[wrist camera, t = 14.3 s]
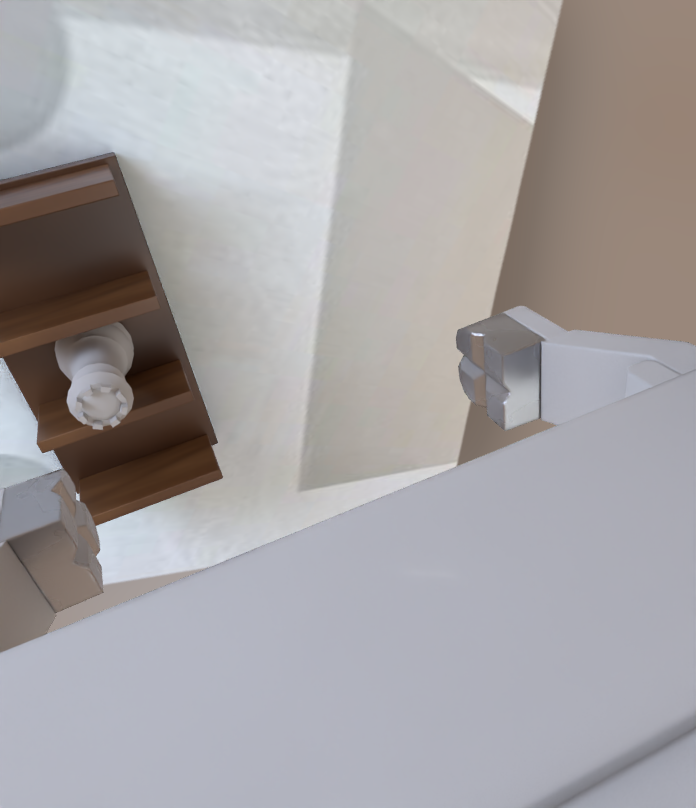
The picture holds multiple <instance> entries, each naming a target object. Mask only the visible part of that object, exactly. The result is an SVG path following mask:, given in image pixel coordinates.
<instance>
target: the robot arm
mask: <svg viewBox="0 0 696 808" xmlns="http://www.w3.org/2000/svg"><path fill="white" fill-rule="evenodd" d="M456 344H457V349H458V350H459V351H460V352H461V353H462V354H464V356H463V358H462V360H461V362H460V364H459V366H458V368H459V377H460V382H461V384H462V387H463V390H464V392H465V393H466V395H467V396H468V398H469V399H470V400H471V401H472V402H473V403H474V404H475V405H478V406H482V407H487V415H488V416H489V417H490V418H491V419H492V420H493V421H494V422H495V423H496V424H498V425H499V426H500V427H501V428H502V429H503V430H504V431H507V430H510V429H513V428H515V427H518V426H521V425H523V424H526V423H529V422H532V421H534V420H537V419H540V418H541V420H543V421H546V422H549V423H552V424H555V425H557V426H555V427H552V428H550V429H547V430H545V431H543V432H540V433H538V434H535V435H533V436H530V437H528V438H525V439H523V440H521V441H518V442H516V443H513V444H511V445H508V446H506V447H503V448H501V449H499V450H496V451H494V452H491V453H489V454H486V455H484V456H481V457H479V458H476V459H474V460H471V461H469V462H467V463H464V464H462V465H459V466H457V467H454V468H452V469H449V470H447V471H444V472H442V473H440V474H437V475H435V476H432V477H430V478H427V479H425V480H422V481H420V482H418V483H415V484H413V485H410V486H408V487H405V488H403V489H400V490H398V491H395V492H393V493H391V494H388V495H386V496H383V497H381V498H378V499H376V500H373V501H371V502H369V503H366V504H364V505H361V506H359V507H356V508H354V509H351V510H349V511H346V512H344V513H342V514H339V515H337V516H334V517H332V518H329V519H327V520H324V521H322V522H320V523H317V524H315V525H312V526H310V527H307V528H305V529H302V530H300V531H297V532H295V533H293V534H290V535H288V536H285V537H283V538H280V539H278V540H275V541H273V542H270V543H268V544H266V545H263V546H261V547H258V548H256V549H253V550H251V551H248V552H246V553H244V554H241V555H239V556H236V557H234V558H231V559H229V560H226V561H224V562H221V563H219V564H217V565H214V566H212V567H209V568H207V569H205V570H202V571H199V572H197V573H195V574H192V575H190V576H187V577H185V578H182V579H180V580H178V581H175V582H173V583H170V584H168V585H165V586H163V587H160V588H158V589H155V590H153V591H150V592H148V593H145V594H143V595H141V596H138V597H136V598H133V599H131V600H128V601H126V602H123V603H121V604H119V605H116V606H114V607H111V608H109V609H106V610H104V611H101V612H99V613H97V614H94V615H92V616H89V617H87V618H84V619H82V620H79V621H77V622H74V623H72V624H70V625H67V626H65V627H62V628H60V629H57V630H55V631H53V632H50V633H47V631H48V630H49V628H50V626H51V624H52V623H53V621H54V619H55V617H56V614H55V613H57V612H59V611H62V610H64V609H66V608H69V607H71V606H73V605H76V604H78V603H80V602H83V601H84V600H87V599H90V598H92V597H94V596H97V595H99V594H101V593H103V581H102V567H101V565H100V563H99V561H98V560H97V558H96V556H97V554H98V553H99V551H100V543H99V537H98V534H97V530H96V526H95V523H94V521H93V519H92V516H91V514H90V512H89V510H88V508H87V506H86V504H84V503H82V502H80V501H78V500H76V488H75V484H74V483H73V481H72V479H71V478H70V476H69V474H68V473H67V472H66V471H65V470H64V469H60V470H57V471H54V472H51V473H48V474H45V475H42V476H39V477H36V478H33V479H30V480H27V481H24V482H21V483H18V484H15V485H12V486H9V487H7V488H2V489H0V808H696V346H694V345H692V344H691V343H688V342H682V341H672V340H664V339H654V338H646V337H636V336H628V335H619V334H610V333H600V332H591V331H582V330H573V331H570V332H568V331H566V330H565V329H563V328H561V327H559V326H558V325H556V324H554V323H553V322H551V321H549V320H547V319H546V318H544V317H542V316H540V315H539V314H537V313H536V312H534V311H532V310H531V309H529V308H527V307H525V306H518V307H515V308H512V309H510V310H507V311H505V312H502V313H500V314H497V315H495V316H492V317H490V318H487V319H484V320H482V321H479V322H477V323H474V324H471V325H469V326H466V327H464V328H461V329H459V330H458V331H457V336H456Z"/></svg>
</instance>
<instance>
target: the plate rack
mask: <svg viewBox="0 0 696 808" xmlns="http://www.w3.org/2000/svg"><path fill="white" fill-rule="evenodd" d="M116 322H119V323H121V324H122V325H123V326H124V327H125V329H126V330H127V331H128V333H129V334H130V335H131V339H132V343H133V347H134V350H133V352H134V356H133V361H132V366H131V368H130V370H129V371H128V372H127V374H126V375H125V376H124V377H125V380H126V382H127V383H128V384H129V386H130V387H131V389H132V393H133V397H134V400H133V404H132V409H131V410H130V411H129V413H128V414H127V415H126V417H125V418H123V419H122V420H120V421H121V423H119V424H118V425H116V426H114V427H112V426H111V425H107V426H103V430H99V429H93V426H89V425H87V424H83V423H82V422H81V421H78V420H77V419H76V418H75V417H74V416H73V415H72V414H71V412H70V410H69V407H68V404H67V396H68V390H69V389H70V388H71V384H72V381H71V380H70V379H69V378H68V377H67V376H66V375H65V374H64V373H63V372H62V371H61V369H60V368H59V364H58V361H57V358H56V353H55V343H56V341H57V340H61V339H64V338H67V337H70V336H74V335H77V334H80V333H83V332H87V331H90V330H93V329H96V328H100V327H103V326H106V325H109V324H113V323H116ZM2 357H3V359H4V361H5V363H6V364H7V366H8V368H9V370H10V372H11V374H12V375H13V377H14V379H15V381H16V383H17V384H18V386H19V388H20V390H21V392H22V394H23V395H24V397H25V399H26V401H27V403H28V405H29V406H30V408H31V410H32V412H33V414H34V415H35V417H36V419H37V421H38V432H37V445H38V446H39V448H40V450H41V452H42V453H45V452H48V451H51V450H54V452H55V454H56V456H57V457H58V459H59V461H60V463H61V465H62V467H63V468H64V470H65V471H66V472H67V473H68V474H69V476H70V478H71V479H72V481H73V483H74V484H75V488H76V492H77V494H80V502H82V503H84V504H86V506H87V508H88V510H89V512H90V514H91V516H92V519H93V521H94V523H95V526H97V525H99V524H102V523H105V522H107V521H110V520H113V519H115V518H118V517H121V516H123V515H126V514H129V513H131V512H134V511H137V510H139V509H142V508H145V507H147V506H150V505H153V504H155V503H158V502H161V501H163V500H166V499H169V498H171V497H174V496H177V495H179V494H182V493H185V492H187V491H190V490H193V489H195V488H198V487H201V486H203V485H206V484H209V483H211V482H214V481H217V480H219V479H222V478H223V476H222V473H221V470H220V468H219V465H218V462H217V459H216V457H215V454H214V451H213V448H212V446H211V445H214V444H217V443H218V441H217V438H216V436H215V433H214V430H213V427H212V424H211V422H210V419H209V416H208V413H207V410H206V408H205V405H204V402H203V399H202V396H201V394H200V391H199V388H198V385H197V382H196V380H195V377H194V374H193V371H192V368H191V366H190V363H189V360H188V357H187V354H186V352H185V349H184V346H183V343H182V340H181V338H180V335H179V332H178V329H177V326H176V324H175V321H174V318H173V315H172V312H171V310H170V307H169V304H168V301H167V298H166V296H165V293H164V290H163V287H162V284H161V282H160V279H159V276H158V273H157V270H156V268H155V265H154V262H153V259H152V256H151V254H150V251H149V248H148V245H147V242H146V240H145V237H144V234H143V231H142V228H141V226H140V223H139V220H138V217H137V214H136V212H135V209H134V206H133V203H132V200H131V198H130V195H129V192H128V189H127V186H126V184H125V181H124V178H123V175H122V172H121V170H120V167H119V164H118V161H117V158H116V156H115V153H109V154H105V155H101V156H97V157H93V158H89V159H85V160H81V161H77V162H72V163H68V164H64V165H60V166H56V167H52V168H48V169H44V170H40V171H36V172H32V173H28V174H24V175H20V176H16V177H12V178H8V179H4V180H0V358H2Z"/></svg>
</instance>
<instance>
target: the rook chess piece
mask: <svg viewBox="0 0 696 808" xmlns="http://www.w3.org/2000/svg"><path fill="white" fill-rule="evenodd" d="M133 350H134V347H133V343H132V339H131V335H130V334H129V333H128V331H127V330H126V329H125V327H124V326H123V325H122V324H121V323H119V322H116V323H113V324H109V325H106V326H103V327H100V328H96V329H93V330H90V331H87V332H83V333H80V334H77V335H74V336H70V337H67V338H64V339H61V340H57V341H56V343H55V353H56V358H57V361H58V364H59V368H60V369H61V371H62V372H63V373H64V374H65V375H66V376H67V377H68V378H69V379H70V380H71V381H72V384H71V388H70V389H69V390H68V396H67V404H68V407H69V410H70V412H71V414H72V415H73V416H74V417H75V418H76V419H77V420H78V421H81V422H82V423H83V424H87V425H89V426H93V429H99V430H103V426H107V425H111V426H112V427H114V426H116V425H118V424H119V423H121V421H120V420H122V419H123V418H125V417H126V415H127V414H128V413H129V411H130V410H131V409H132V404H133V400H134V397H133V393H132V389H131V387H130V386H129V384H128V383H127V382H126V380H125V377H124V376H125V375H126V374H127V372H128V371H129V370H130V368H131V366H132V361H133V356H134V352H133Z"/></svg>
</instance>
